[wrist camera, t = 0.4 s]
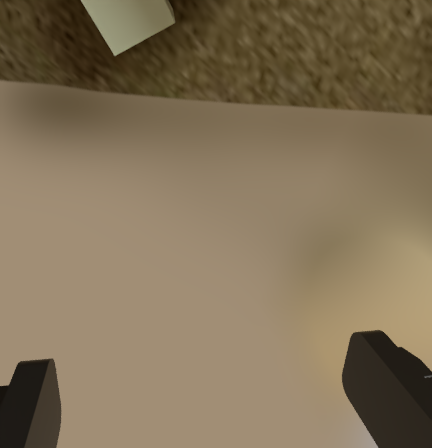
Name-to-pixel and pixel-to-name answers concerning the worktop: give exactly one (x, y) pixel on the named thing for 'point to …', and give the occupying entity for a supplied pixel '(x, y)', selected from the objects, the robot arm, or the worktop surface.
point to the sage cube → (129, 20)
